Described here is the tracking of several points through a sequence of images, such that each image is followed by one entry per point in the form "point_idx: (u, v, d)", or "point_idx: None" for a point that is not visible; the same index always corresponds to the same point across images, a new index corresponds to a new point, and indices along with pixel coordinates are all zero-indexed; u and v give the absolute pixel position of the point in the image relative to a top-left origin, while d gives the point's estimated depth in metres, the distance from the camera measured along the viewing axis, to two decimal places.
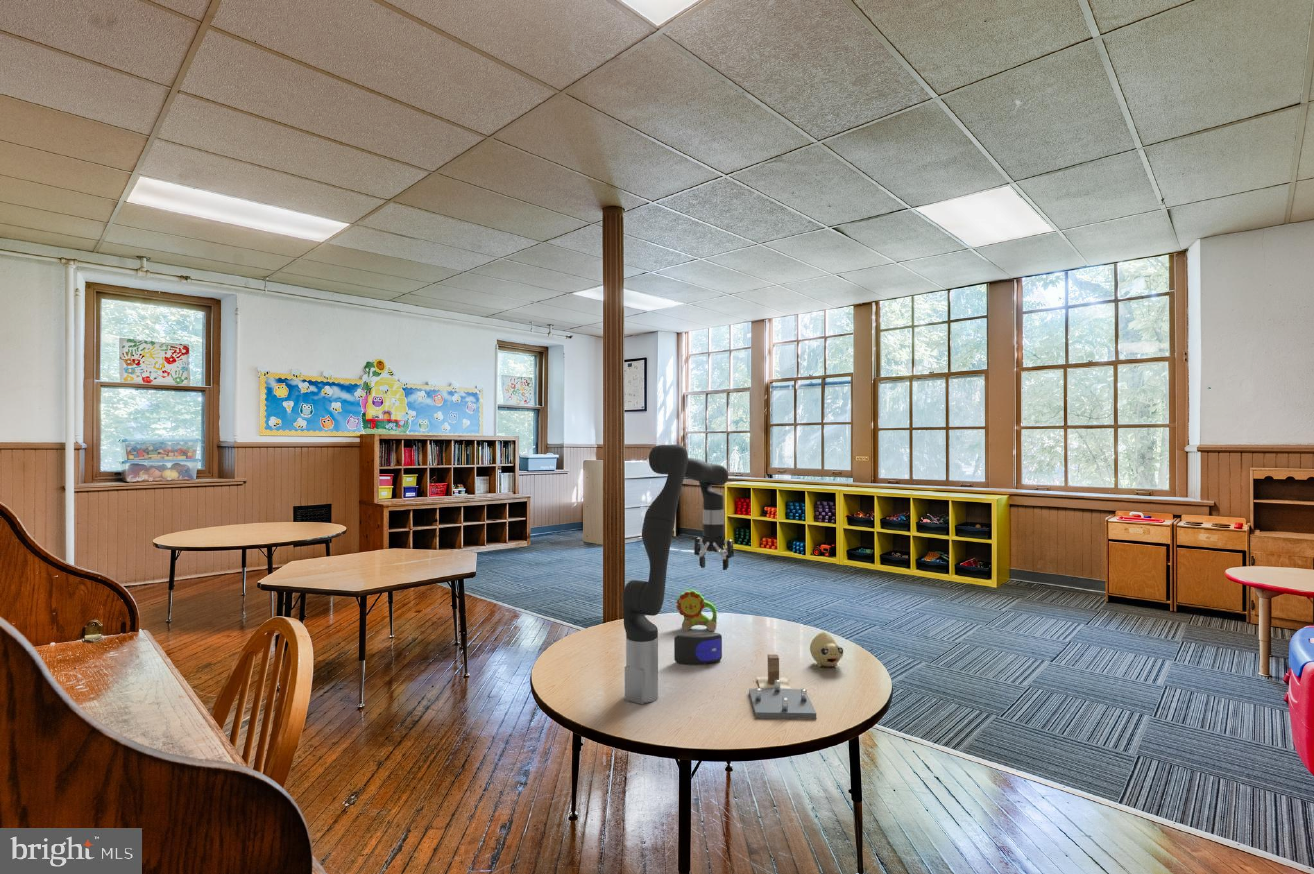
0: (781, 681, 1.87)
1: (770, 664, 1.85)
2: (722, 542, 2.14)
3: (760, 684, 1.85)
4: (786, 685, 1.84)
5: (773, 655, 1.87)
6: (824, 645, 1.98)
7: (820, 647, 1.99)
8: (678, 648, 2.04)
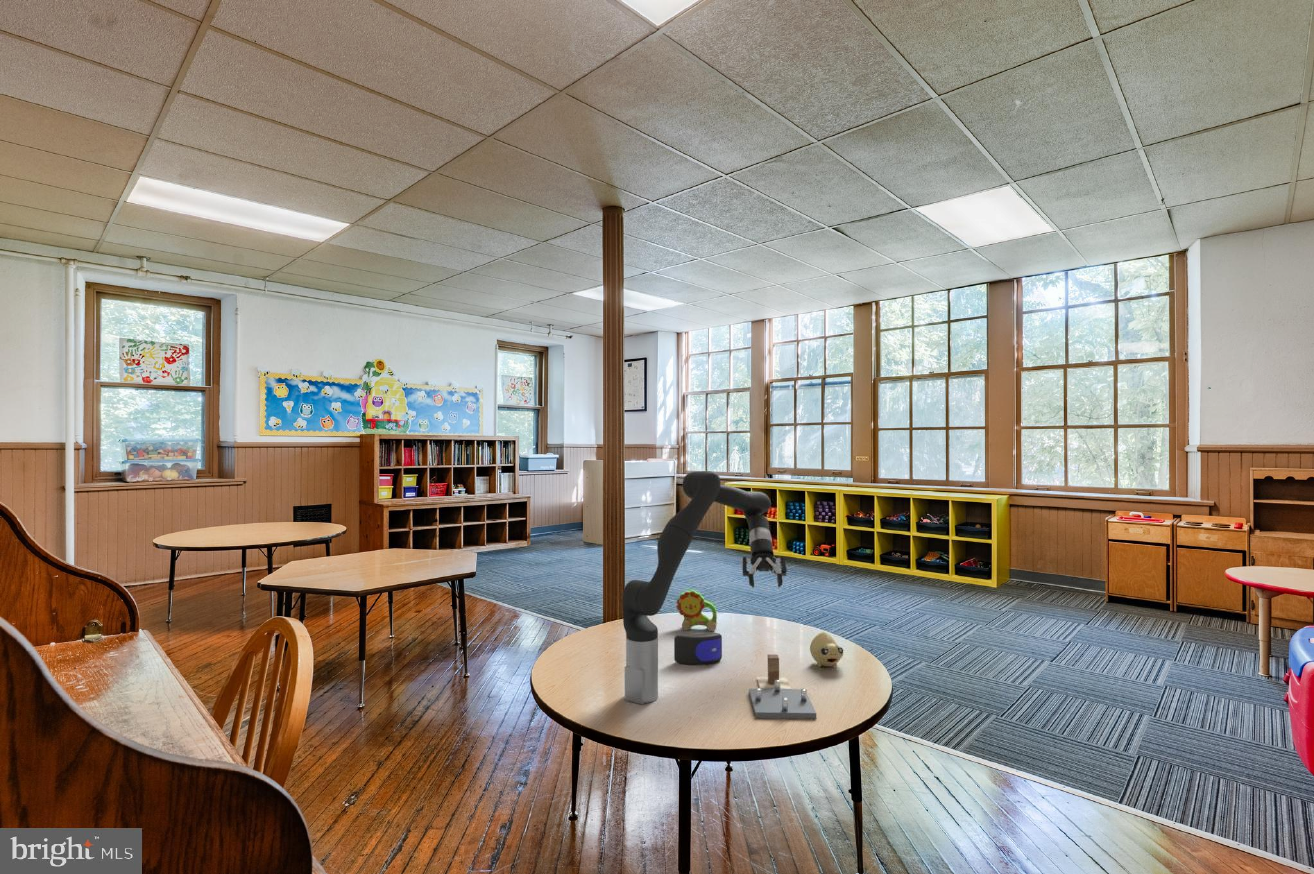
0: (781, 681, 1.87)
1: (770, 664, 1.85)
2: (775, 559, 2.05)
3: (760, 684, 1.85)
4: (786, 685, 1.84)
5: (773, 655, 1.87)
6: (824, 645, 1.98)
7: (820, 647, 1.99)
8: (678, 648, 2.04)
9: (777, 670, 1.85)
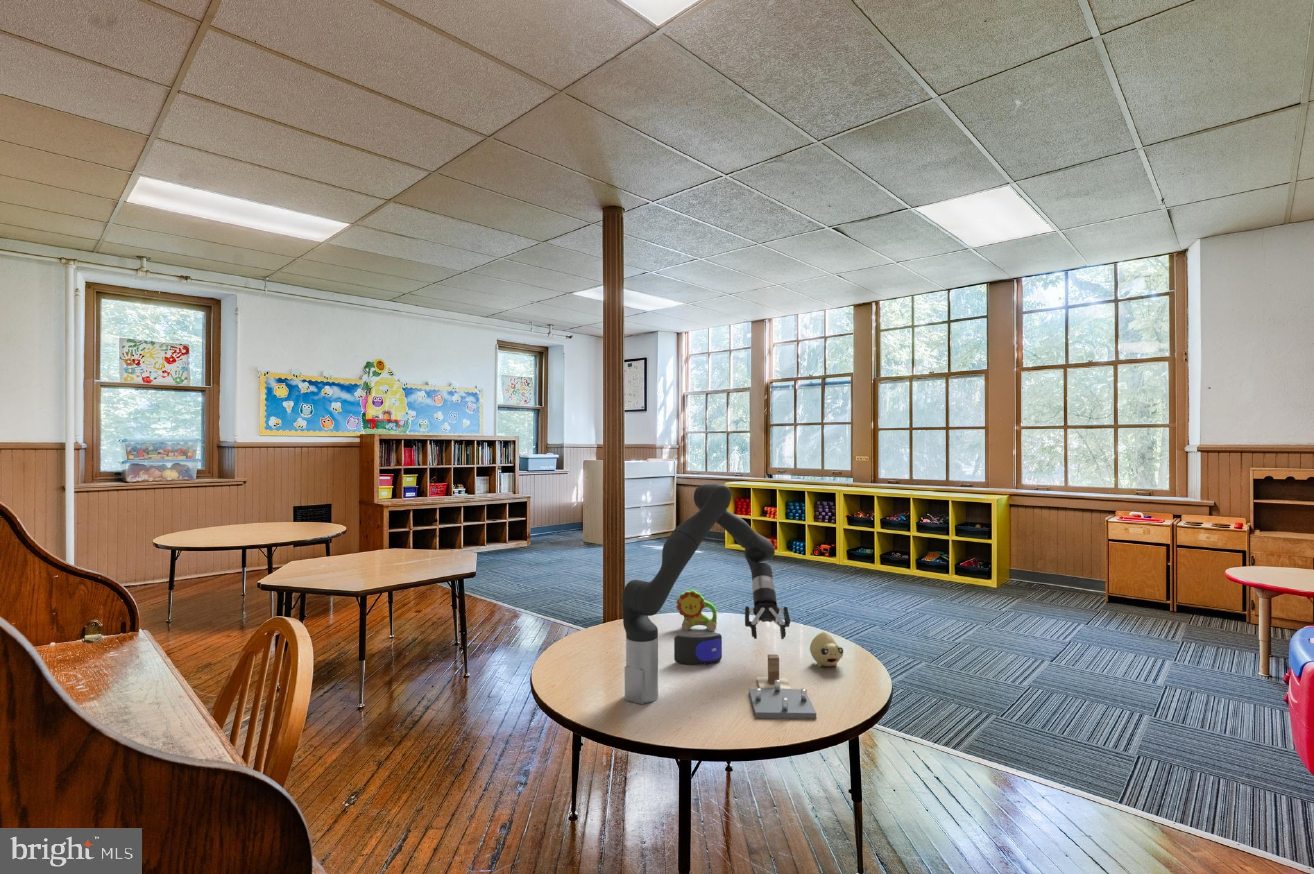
0: (781, 681, 1.87)
1: (770, 664, 1.85)
2: (778, 609, 2.00)
3: (760, 684, 1.85)
4: (786, 685, 1.84)
5: (773, 655, 1.87)
6: (824, 645, 1.98)
7: (820, 647, 1.99)
8: (678, 648, 2.04)
9: (777, 670, 1.85)
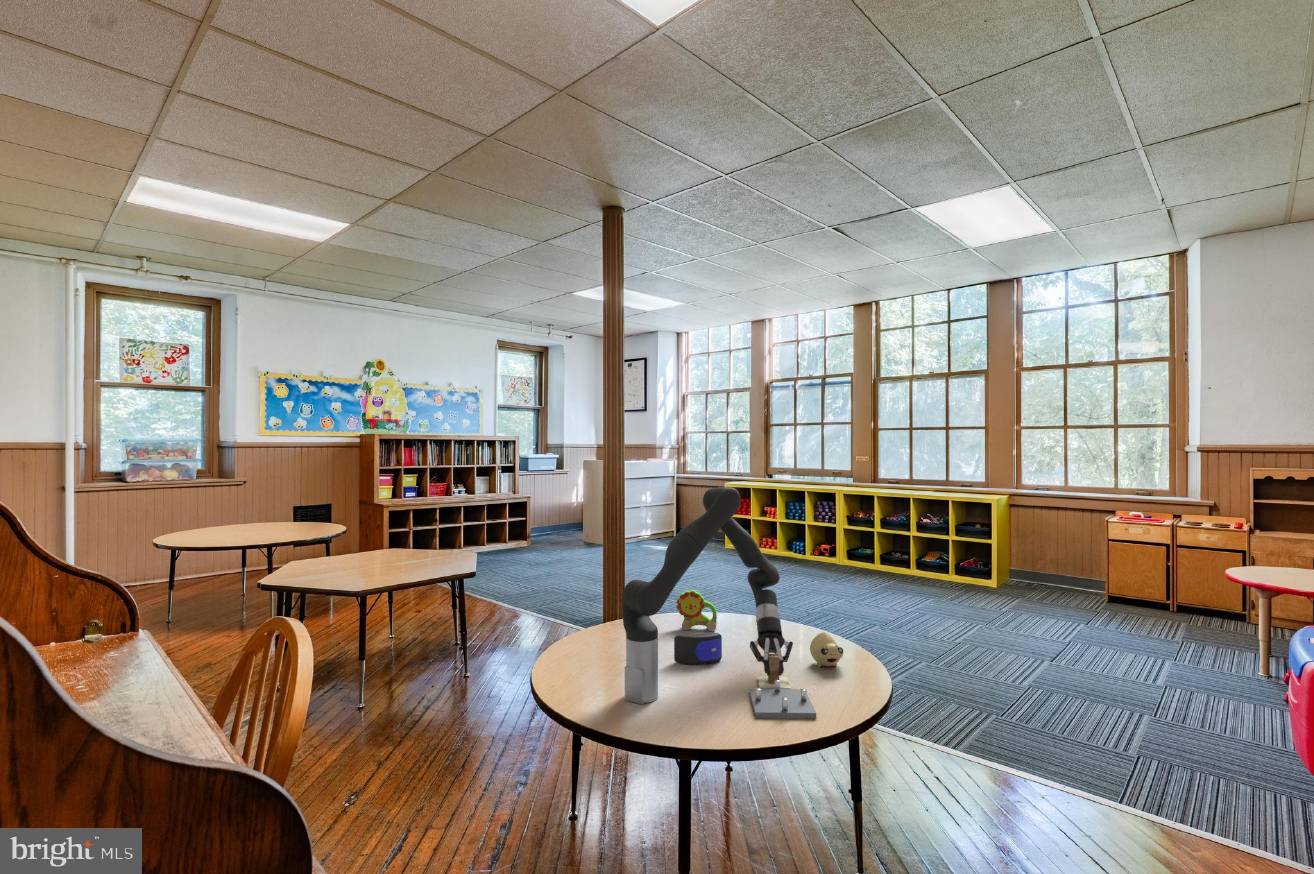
0: (781, 680, 1.87)
1: (770, 663, 1.85)
2: (783, 640, 1.91)
3: (760, 683, 1.85)
4: (787, 684, 1.84)
5: (773, 654, 1.87)
6: (824, 645, 1.98)
7: (820, 647, 1.99)
8: (678, 648, 2.04)
9: (777, 669, 1.85)
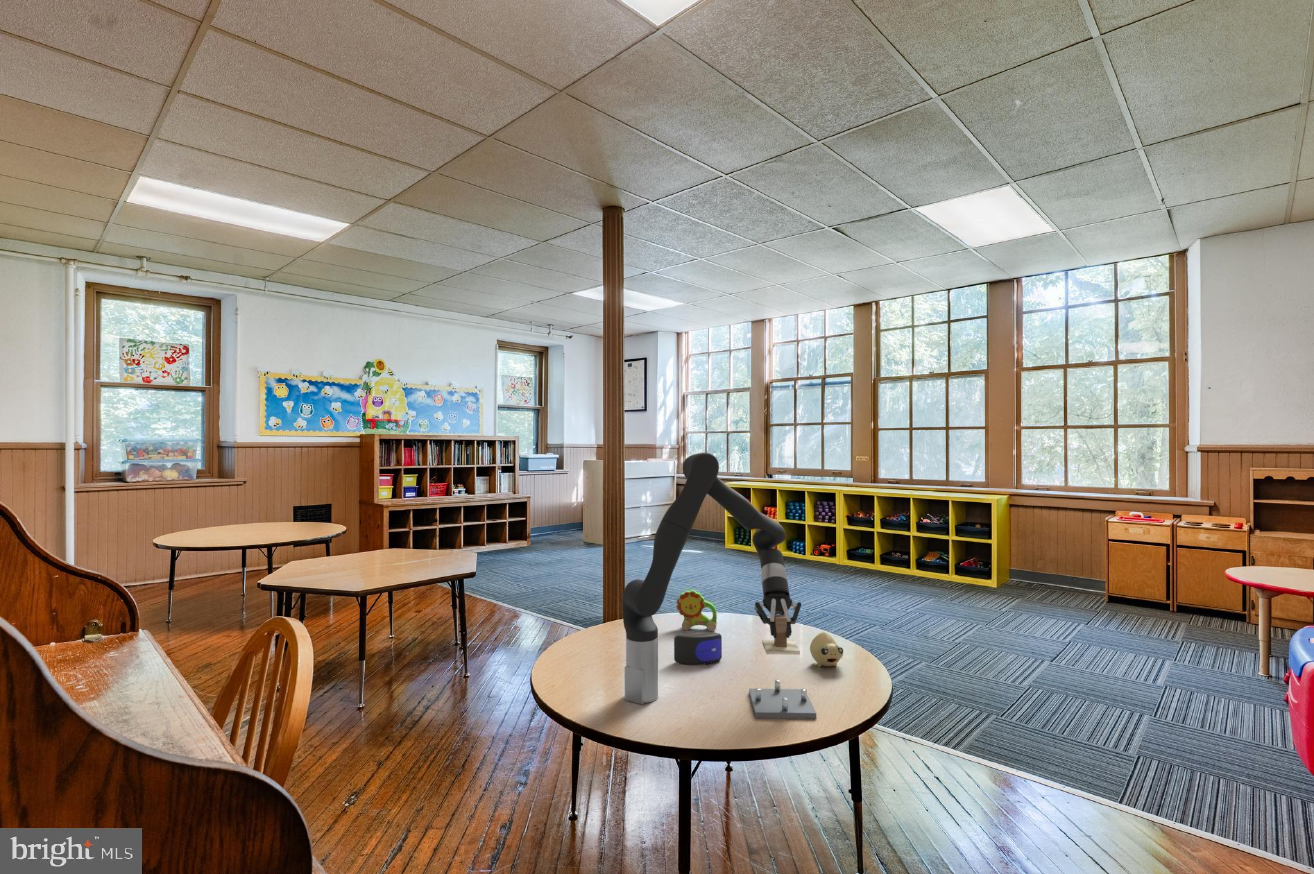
0: (789, 644, 1.73)
1: (777, 625, 1.71)
2: (790, 601, 1.76)
3: (766, 646, 1.71)
4: (795, 647, 1.70)
5: (780, 615, 1.73)
6: (824, 645, 1.98)
7: (820, 647, 1.99)
8: (678, 648, 2.04)
9: (784, 631, 1.71)
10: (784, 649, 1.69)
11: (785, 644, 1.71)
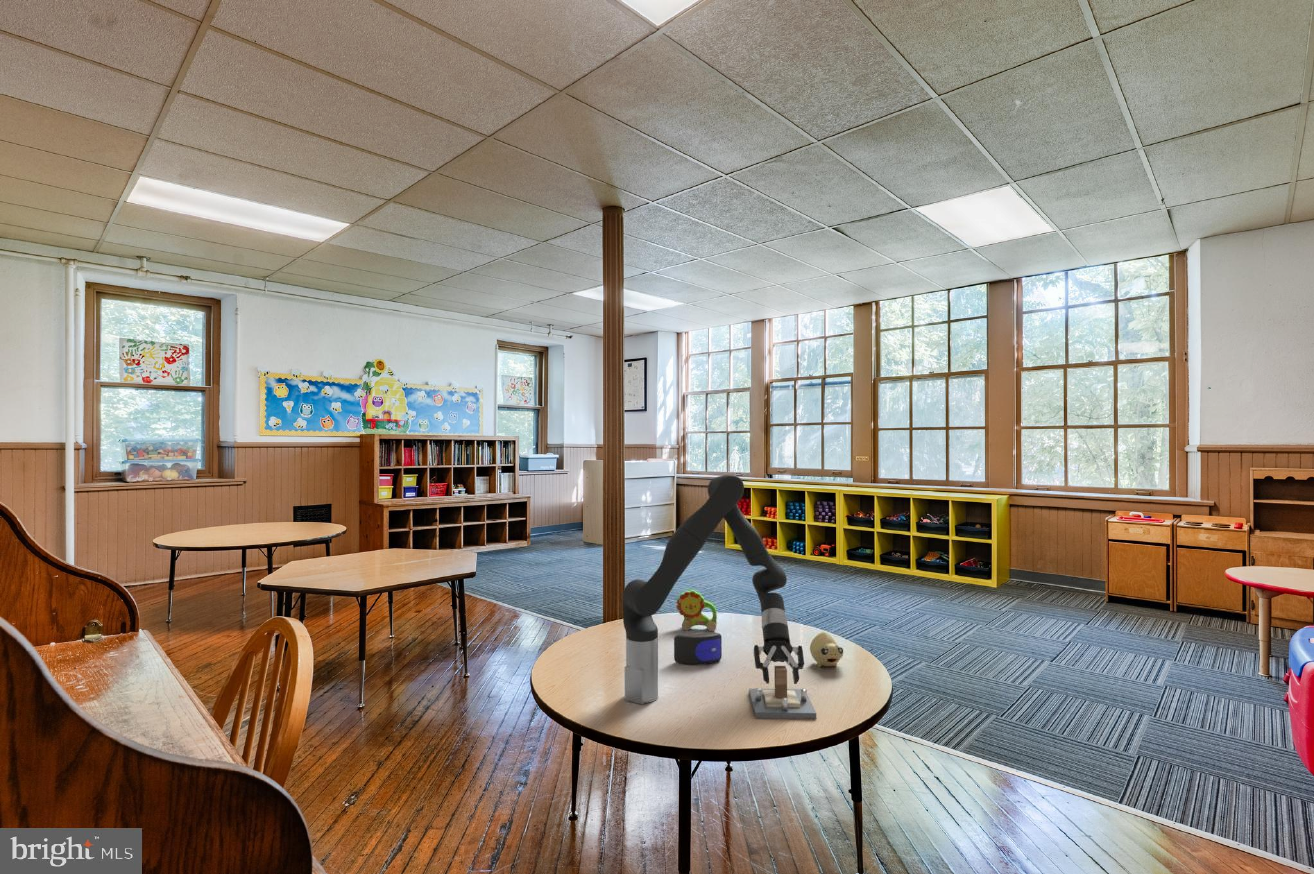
0: (789, 695, 1.73)
1: (777, 676, 1.70)
2: (791, 647, 1.76)
3: (766, 698, 1.70)
4: (795, 699, 1.70)
5: (780, 666, 1.72)
6: (824, 645, 1.98)
7: (820, 647, 1.99)
8: (678, 648, 2.04)
9: (785, 683, 1.70)
10: None
11: (785, 696, 1.70)
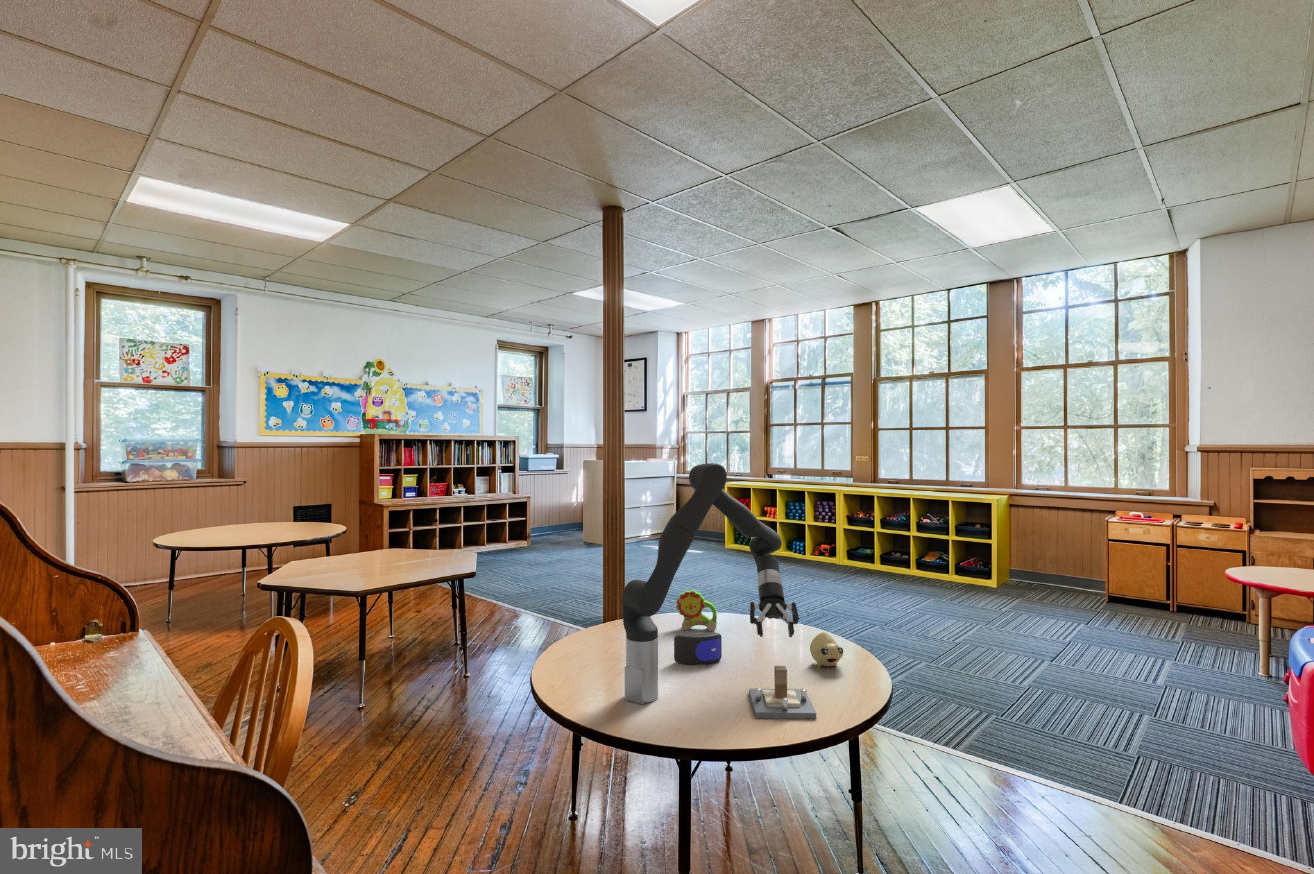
0: (789, 695, 1.73)
1: (777, 676, 1.70)
2: (785, 605, 1.86)
3: (766, 698, 1.70)
4: (795, 699, 1.70)
5: (780, 666, 1.72)
6: (824, 645, 1.98)
7: (820, 647, 1.99)
8: (678, 648, 2.04)
9: (785, 683, 1.70)
10: None
11: (785, 696, 1.70)
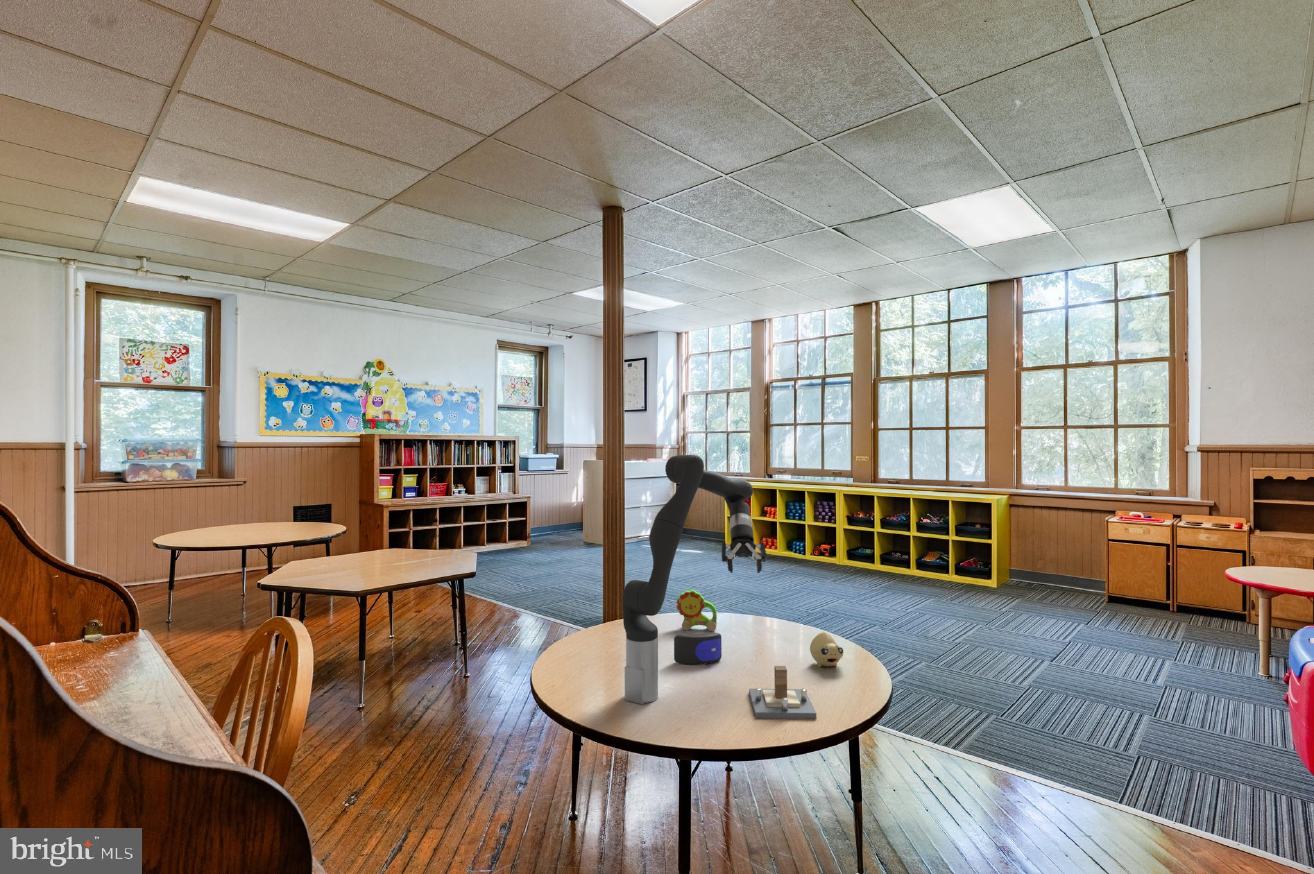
0: (789, 695, 1.73)
1: (777, 676, 1.70)
2: (754, 544, 2.00)
3: (766, 698, 1.70)
4: (795, 699, 1.70)
5: (780, 666, 1.72)
6: (824, 645, 1.98)
7: (820, 647, 1.99)
8: (678, 648, 2.04)
9: (785, 683, 1.70)
10: None
11: (785, 696, 1.70)
